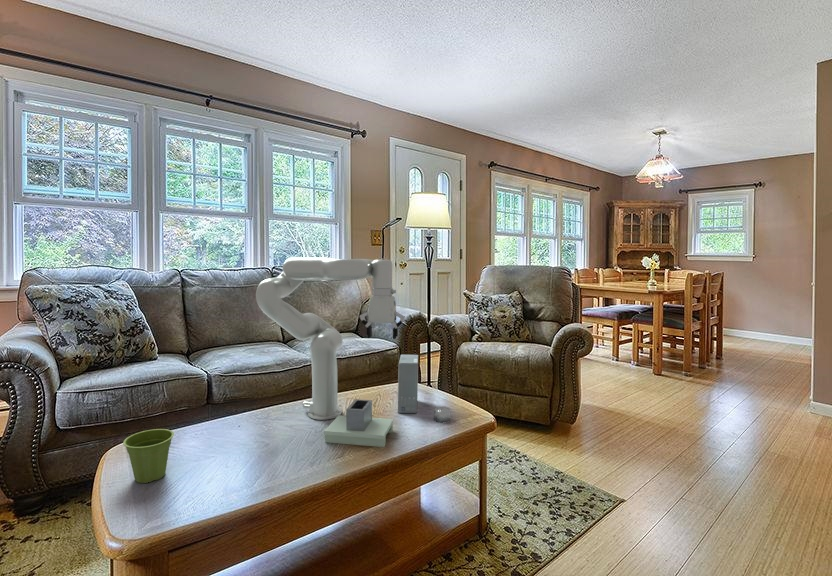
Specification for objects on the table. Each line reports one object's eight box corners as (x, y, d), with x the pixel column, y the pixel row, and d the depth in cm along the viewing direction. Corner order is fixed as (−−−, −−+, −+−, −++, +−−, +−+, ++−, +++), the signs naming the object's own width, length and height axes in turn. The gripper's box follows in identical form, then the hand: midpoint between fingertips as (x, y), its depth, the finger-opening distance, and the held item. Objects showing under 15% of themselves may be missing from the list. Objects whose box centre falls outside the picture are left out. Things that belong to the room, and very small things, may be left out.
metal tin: (433, 422, 160) (433, 411, 160) (435, 416, 166) (435, 406, 165) (449, 423, 159) (449, 412, 159) (450, 417, 165) (450, 407, 164)
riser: (324, 442, 142) (324, 431, 141) (338, 426, 155) (338, 415, 155) (383, 447, 138) (383, 435, 138) (393, 430, 152) (393, 419, 152)
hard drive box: (417, 414, 168) (417, 363, 166) (397, 413, 168) (397, 363, 166) (417, 400, 183) (418, 354, 182) (399, 400, 183) (400, 353, 182)
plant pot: (120, 492, 112) (118, 450, 111) (130, 471, 122) (128, 432, 121) (172, 483, 116) (171, 442, 115) (177, 463, 127) (176, 426, 126)
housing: (355, 418, 152) (355, 399, 151) (372, 419, 151) (372, 400, 150) (346, 430, 142) (346, 409, 142) (364, 431, 141) (364, 410, 141)
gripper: (406, 292, 163) (406, 336, 165) (362, 291, 166) (362, 335, 168) (403, 294, 156) (402, 340, 157) (356, 293, 159) (357, 338, 160)
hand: (382, 337), depth 163 cm, fingers open, 9 cm apart
